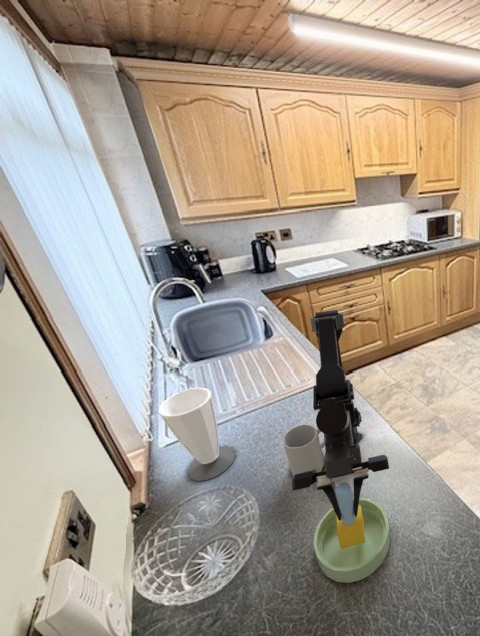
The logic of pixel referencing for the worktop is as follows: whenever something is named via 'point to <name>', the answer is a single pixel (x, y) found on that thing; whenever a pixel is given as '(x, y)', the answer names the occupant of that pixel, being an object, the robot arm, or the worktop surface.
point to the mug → (304, 449)
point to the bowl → (356, 558)
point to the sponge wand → (349, 518)
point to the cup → (197, 431)
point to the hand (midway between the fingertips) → (348, 518)
